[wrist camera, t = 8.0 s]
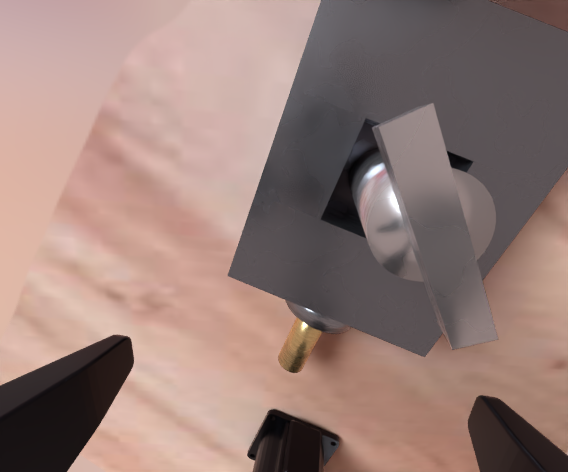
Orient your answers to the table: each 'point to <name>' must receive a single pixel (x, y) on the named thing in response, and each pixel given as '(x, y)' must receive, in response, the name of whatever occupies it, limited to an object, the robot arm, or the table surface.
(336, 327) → the block
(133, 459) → the table surface
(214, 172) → the table surface
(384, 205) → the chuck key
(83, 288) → the table surface
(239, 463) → the table surface
